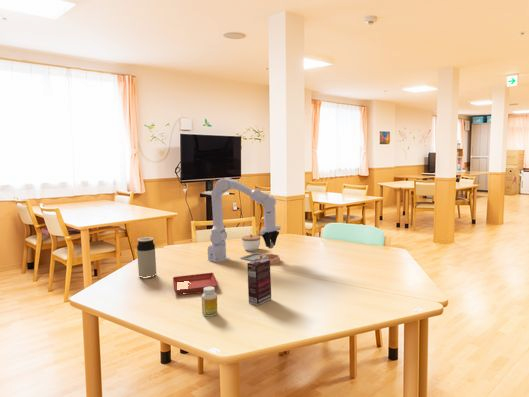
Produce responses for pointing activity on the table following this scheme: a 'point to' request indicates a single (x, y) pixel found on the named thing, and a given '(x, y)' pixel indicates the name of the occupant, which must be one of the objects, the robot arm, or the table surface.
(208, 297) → the supplement bottle
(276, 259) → the bowl
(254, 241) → the lidded jar
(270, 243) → the pebble dark
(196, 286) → the plant saucer
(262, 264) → the supplement box
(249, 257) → the tray
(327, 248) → the table surface
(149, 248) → the travel mug
